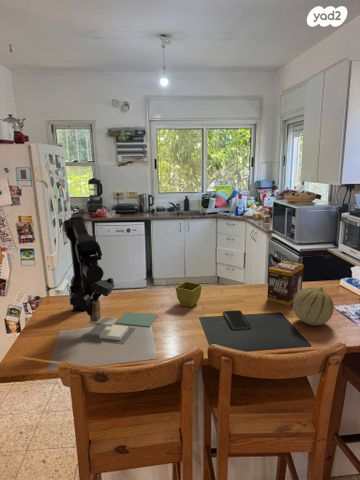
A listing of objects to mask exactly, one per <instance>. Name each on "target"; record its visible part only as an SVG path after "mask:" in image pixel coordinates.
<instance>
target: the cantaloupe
mask: <svg viewBox="0 0 360 480" xmlns="http://www.w3.org/2000/svg"><path fill="white" fill-rule="evenodd" d="M292 307H293V311H294V315H295V316H296V317H297V319H299V320H300V321H301V322H303V323H305V324H307V325H310V326H321V325H324V324H326V323H328V321H329V320H330V319H331V318H332V316H333V314H334V310H335V304H334V301H333V299H332V297H331V295H330V294H329V293H328V292H327V291H325V290H324V289H323V286H320V287H317V286H307V287H304V288H302V290H300V291H299V292H298V293H297V294H296V296H295V298H294V301H293V302H292Z"/></svg>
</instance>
